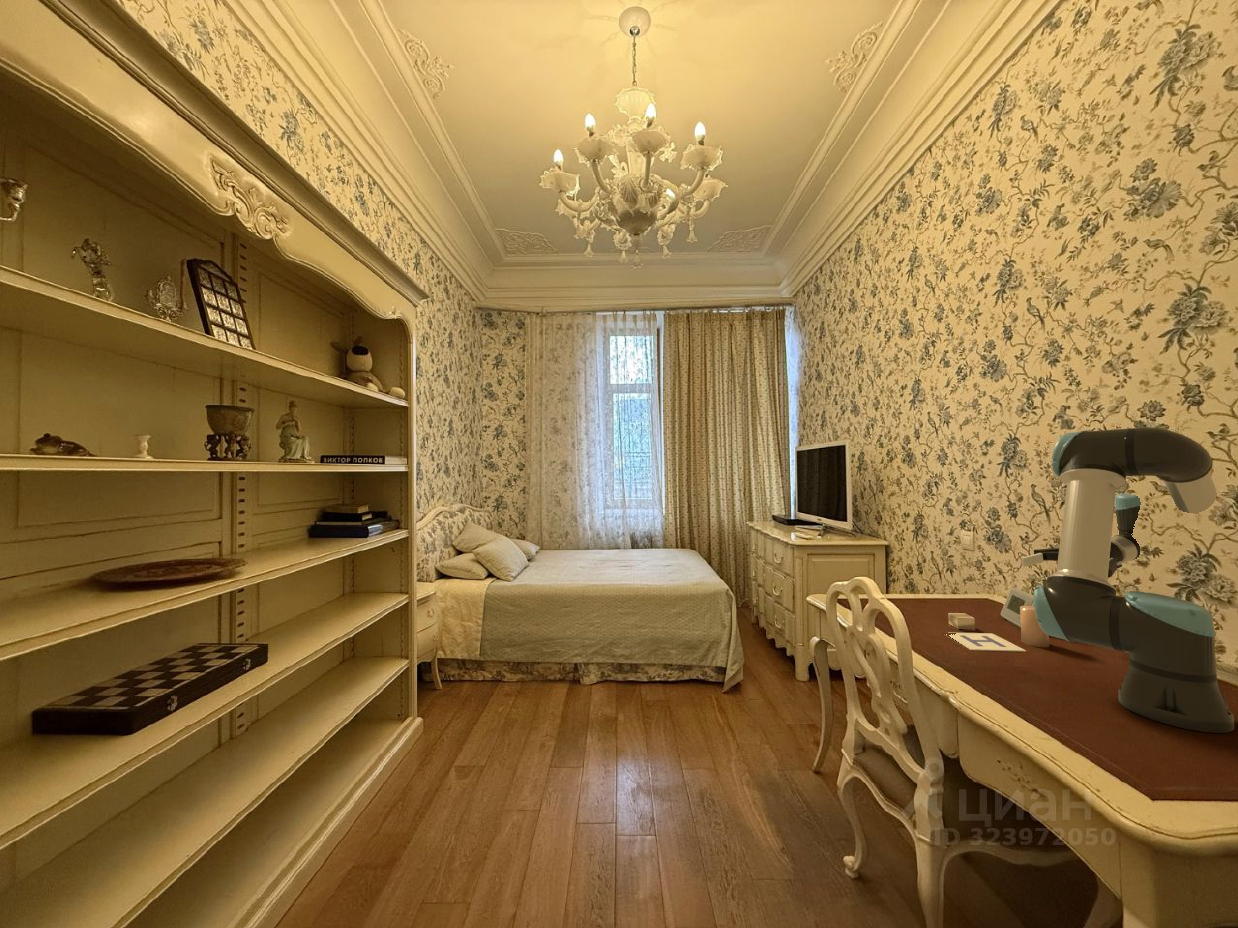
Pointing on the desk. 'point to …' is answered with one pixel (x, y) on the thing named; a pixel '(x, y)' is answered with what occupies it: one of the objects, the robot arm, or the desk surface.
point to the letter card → (985, 642)
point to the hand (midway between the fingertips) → (1045, 568)
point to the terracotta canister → (1032, 628)
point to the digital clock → (1016, 605)
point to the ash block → (961, 621)
